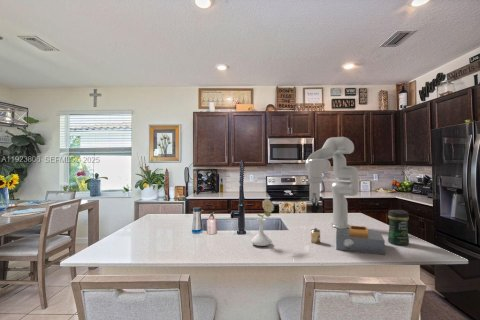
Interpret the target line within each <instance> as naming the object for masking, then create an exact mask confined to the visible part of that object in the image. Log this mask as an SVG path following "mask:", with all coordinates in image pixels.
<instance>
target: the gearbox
mask: <svg viewBox="0 0 480 320" xmlns="http://www.w3.org/2000/svg"><path fill="white" fill-rule="evenodd" d="M335 233H336V234H335V243H336V244H335V245H336V250H337V251H345V252H346V251H347V252H353V253H354V252H356V253H362V252H363V254H371V253H372V254H374V255H382V256H385V254H386V252H385V251H386V250H385V249H386V247H385V246H386V245H385V241H386V240H385V238H384V236H383V235H382V234H381V231H380V230H369V229H368V227H367V226H363V225H361V226H360V225H350V224H349V228H336V232H335Z"/></svg>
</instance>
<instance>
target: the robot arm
mask: <svg viewBox="0 0 480 320" xmlns="http://www.w3.org/2000/svg"><path fill="white" fill-rule="evenodd" d="M354 151H355V145H354V143H353V141H352V140H351V139H350V138H348V137H345V136H336V137H335V136H334V137H329V138H327V139H326V141H324V143H323V146H322V147H321V148H320V149H318V150H315V151H314V152H312V153H311V154H309V156H308V158H307V159H306V160H305V167H304V168H305V170H306V171H307V174H308V176H307V177H308V178H307V182H308V184H309V201H310V202H311V207H310V208H311V213H312V214H313V213H315V214H316V213H318V211H319V210H320V202H319V201H320V196H321V184H323V173H326V172H328V171H329V170H330V169H331V165H332V164H331V162H330V159H332V161H333V167H332V168H333V177H334V179H335V180H341V181H334V182H332V184H331V194H332V215H333V216H332V218H333V220H332V221H333V222H332V223H331V224H330V225H331V226H330V227H332V228H335V229H337V228H344V229H349V225H350V224H349V221H348V220H349V219H348V216H349V215H348V214H349V213H348V210H349V209H348V201H347V198H346V196H349V197H355V196H357V195H358V194H359V170H358V168H357V167H356V166H348V165H347V158H346V157H345V155H347V154H352V153H354Z"/></svg>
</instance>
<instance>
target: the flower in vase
mask: <svg viewBox="0 0 480 320" xmlns="http://www.w3.org/2000/svg"><path fill="white" fill-rule="evenodd" d="M261 206H262V208H263V210H264V212H263V215H262V214H260V213H257V216H259V217H260V218H257V219H256V221H257V223H258V229H259V230H258V233H257V234H256V235H254V237H252V238H251V240H250V243H252V245H254V246H258V247H265V246H269V245H271V244H272V243H273V241H272V239H271V238H270V237H269V236H267V235H266V234H265V232H264V225H265V223H266V220H267V219H265V218H264V216H266V217H267V218H269V217H271V216H272V214H271V213H272V212H273V211H274V210H275V205H274V203H273V201H271V200H270V199H268V198H265V199H264V200H262V204H261Z"/></svg>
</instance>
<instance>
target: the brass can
mask: <svg viewBox="0 0 480 320" xmlns="http://www.w3.org/2000/svg"><path fill="white" fill-rule="evenodd" d="M310 240H311V242H310V243H312V244H314V245H315V244H316V245H319V244H321V230H320V229H318V228H317V227H314V228H311V230H310Z"/></svg>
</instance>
